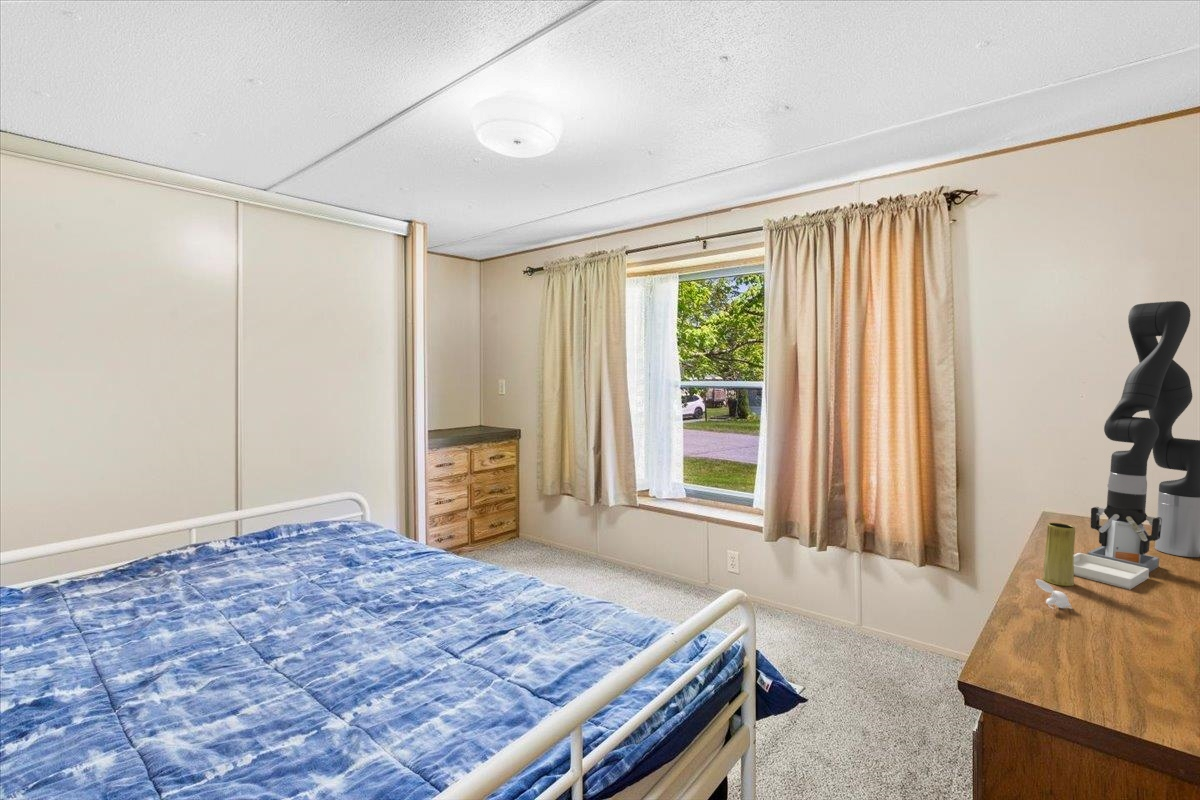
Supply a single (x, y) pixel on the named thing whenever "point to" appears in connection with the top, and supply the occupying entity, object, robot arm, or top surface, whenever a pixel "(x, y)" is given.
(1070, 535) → the vase
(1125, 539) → the skincare box
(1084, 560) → the tray
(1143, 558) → the frame
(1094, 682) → the top surface
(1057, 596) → the rabbit figurine
